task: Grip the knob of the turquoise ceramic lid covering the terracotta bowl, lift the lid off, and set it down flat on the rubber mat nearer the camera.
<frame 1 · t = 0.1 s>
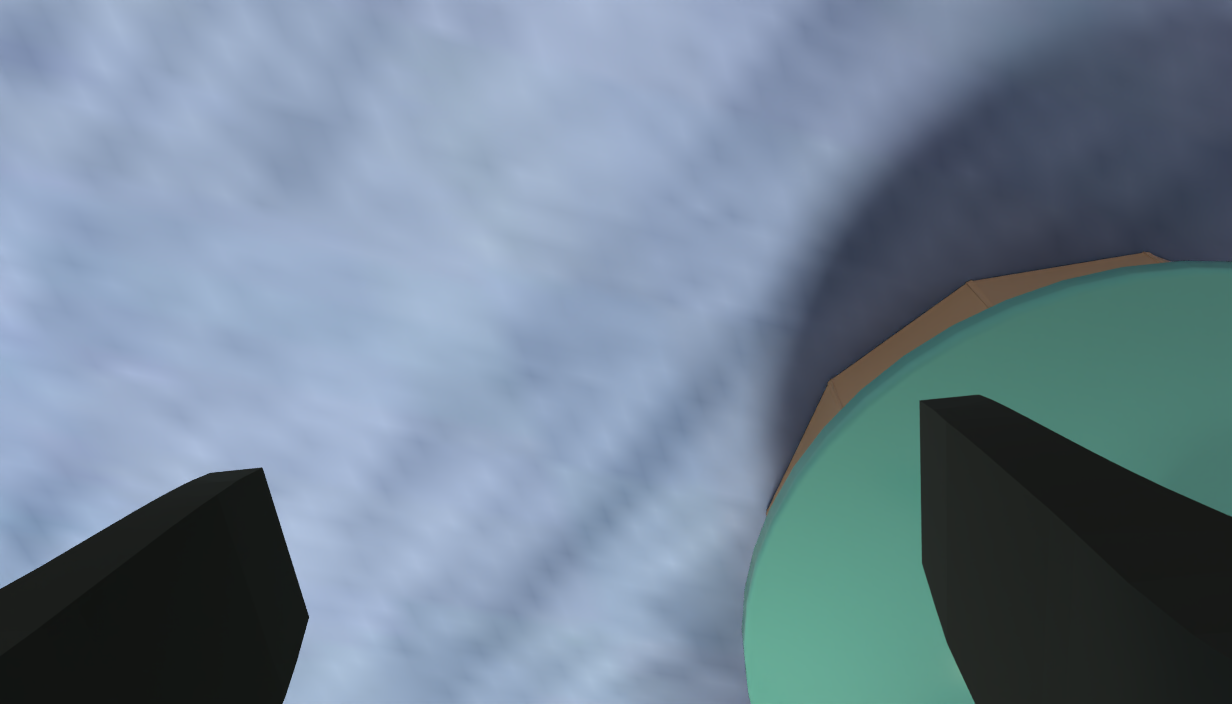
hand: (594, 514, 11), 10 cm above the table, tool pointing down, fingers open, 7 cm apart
lid: (1119, 619, 19), point 3 cm above the table, touching bowl
bowl: (1061, 534, 22), on the table
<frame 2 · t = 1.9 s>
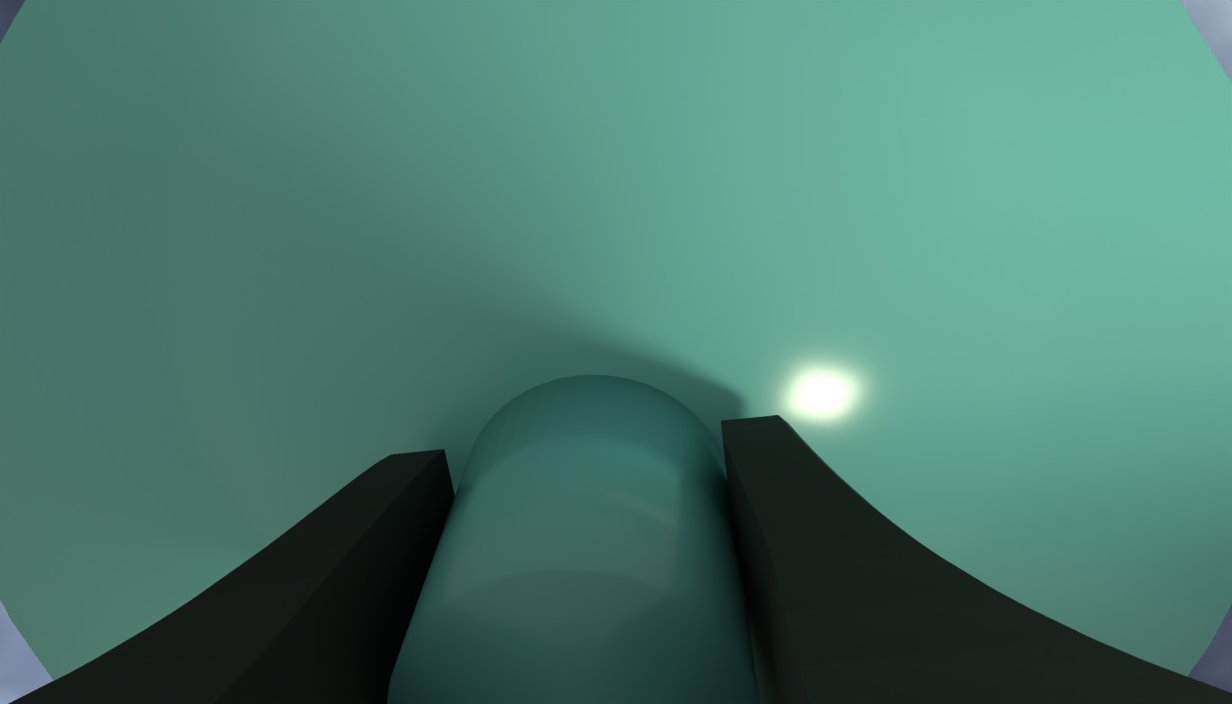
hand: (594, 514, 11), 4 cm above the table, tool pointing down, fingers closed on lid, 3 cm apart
lid: (600, 460, 12), point 3 cm above the table, touching bowl, gripper
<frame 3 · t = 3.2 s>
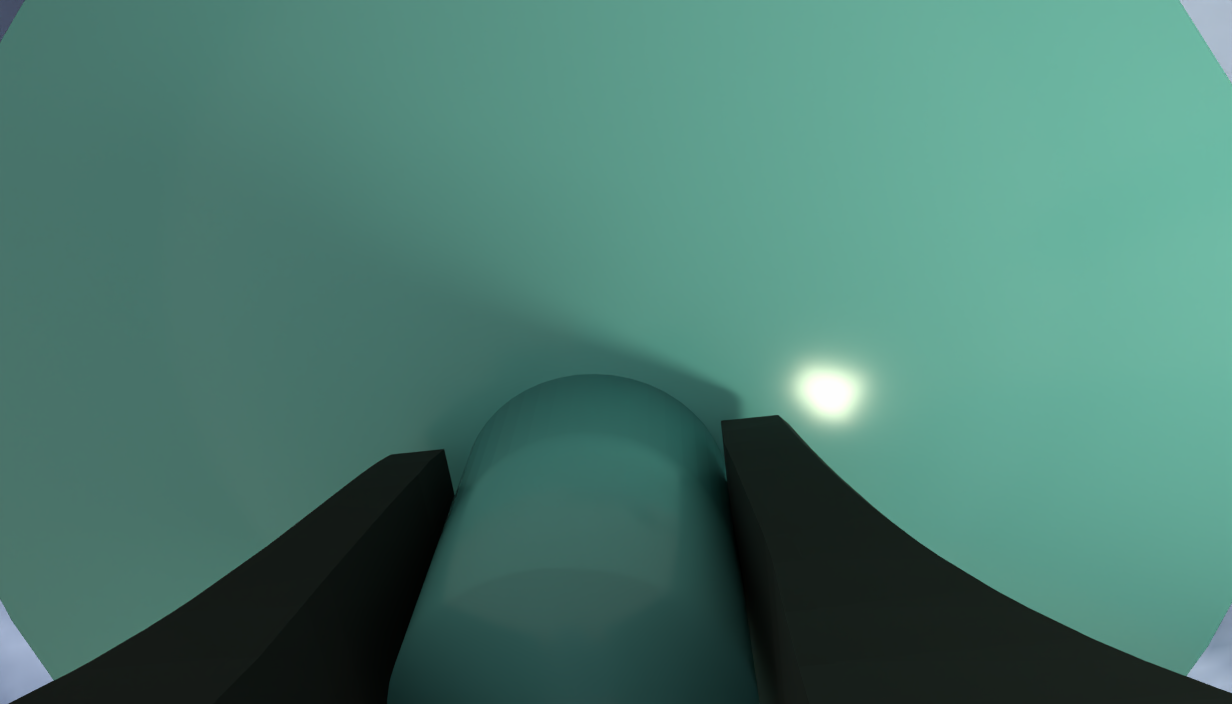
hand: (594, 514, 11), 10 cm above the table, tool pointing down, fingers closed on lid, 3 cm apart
lid: (599, 459, 12), point 9 cm above the table, touching gripper
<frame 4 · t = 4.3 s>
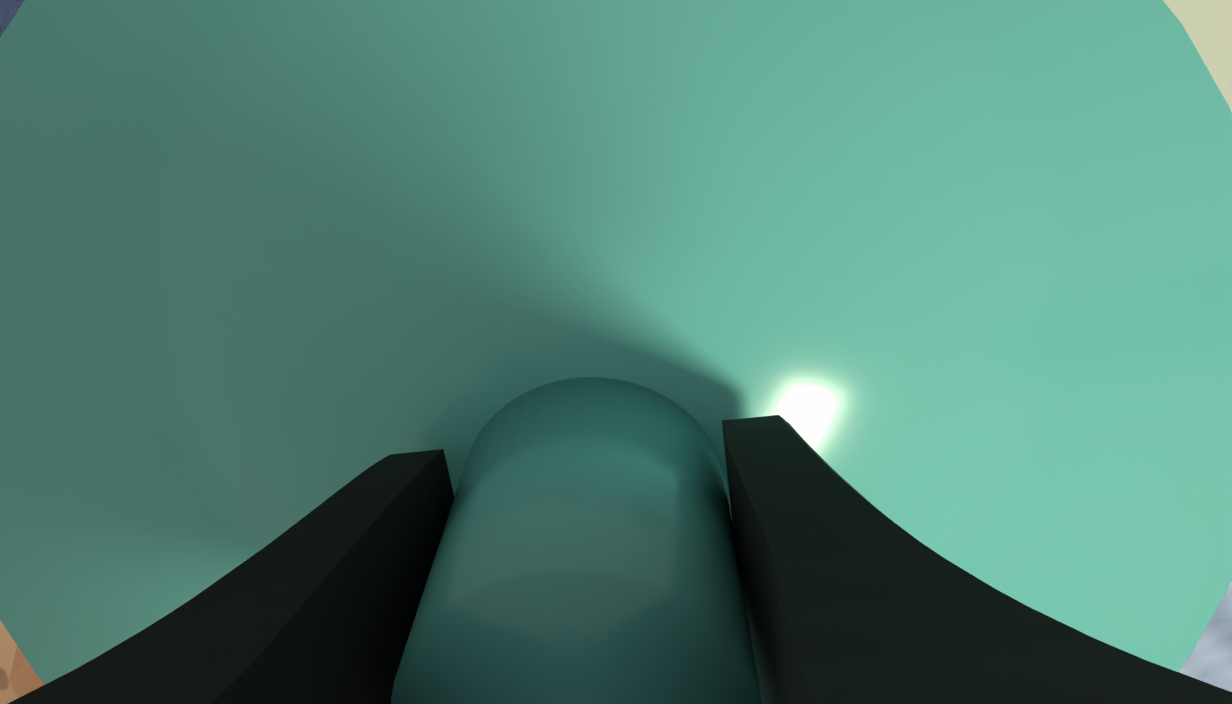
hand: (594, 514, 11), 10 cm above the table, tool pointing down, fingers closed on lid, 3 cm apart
lid: (596, 462, 12), point 9 cm above the table, touching gripper
bowl: (309, 627, 24), on the table
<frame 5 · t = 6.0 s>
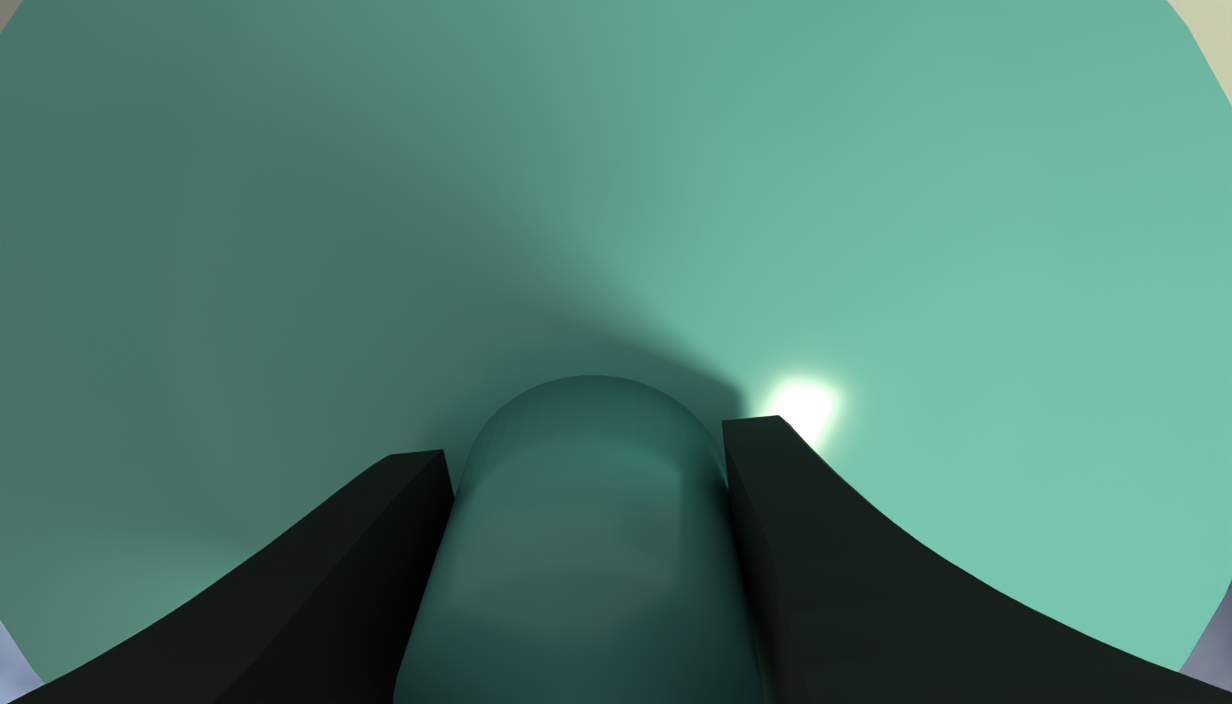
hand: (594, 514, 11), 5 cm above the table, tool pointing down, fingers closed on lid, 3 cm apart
lid: (597, 460, 12), point 3 cm above the table, touching gripper
mat: (612, 354, 15), on the table
when the fingers open (3 cm above the table, at t = 7.0 s): lid drops 1 cm, resting on mat.
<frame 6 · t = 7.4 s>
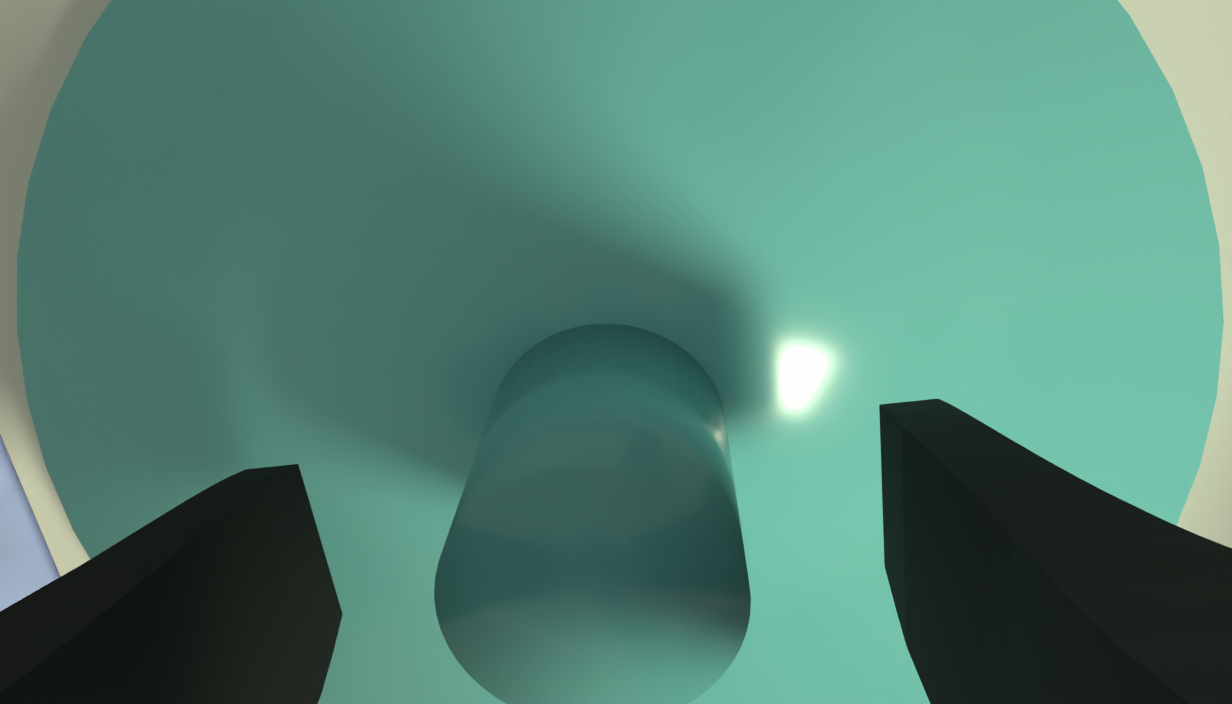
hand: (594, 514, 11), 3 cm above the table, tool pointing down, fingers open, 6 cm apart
lid: (610, 405, 13), resting on mat
mat: (607, 389, 14), on the table
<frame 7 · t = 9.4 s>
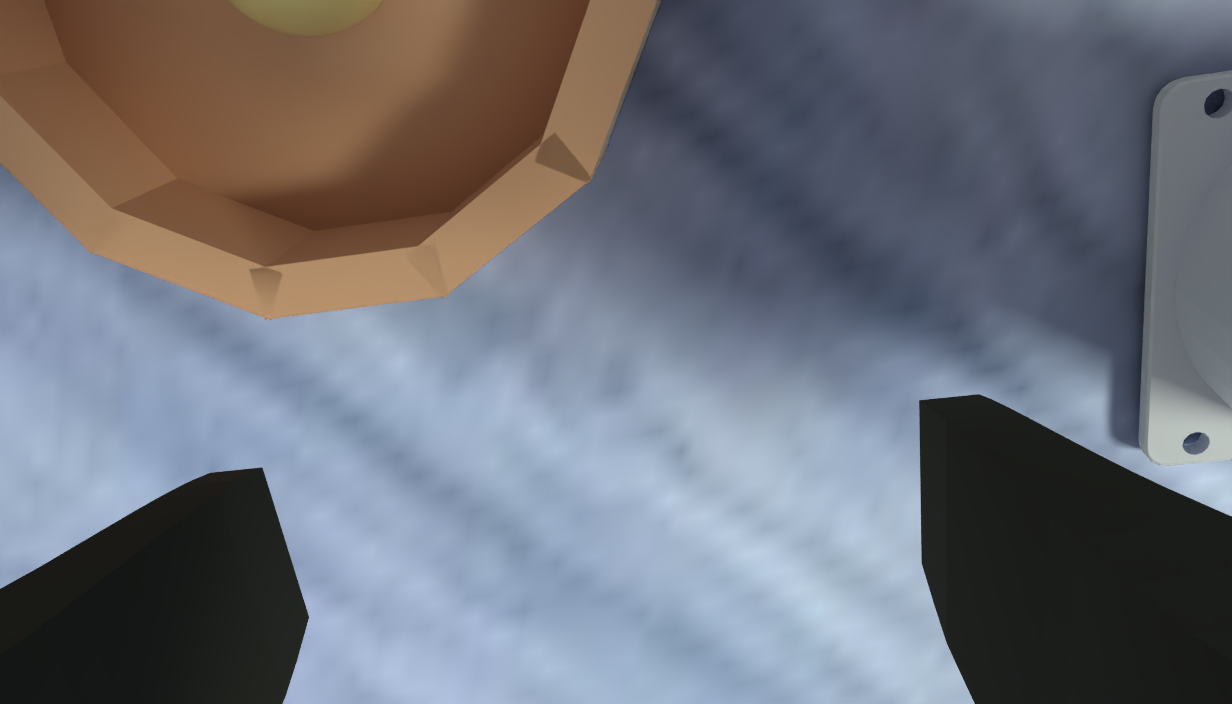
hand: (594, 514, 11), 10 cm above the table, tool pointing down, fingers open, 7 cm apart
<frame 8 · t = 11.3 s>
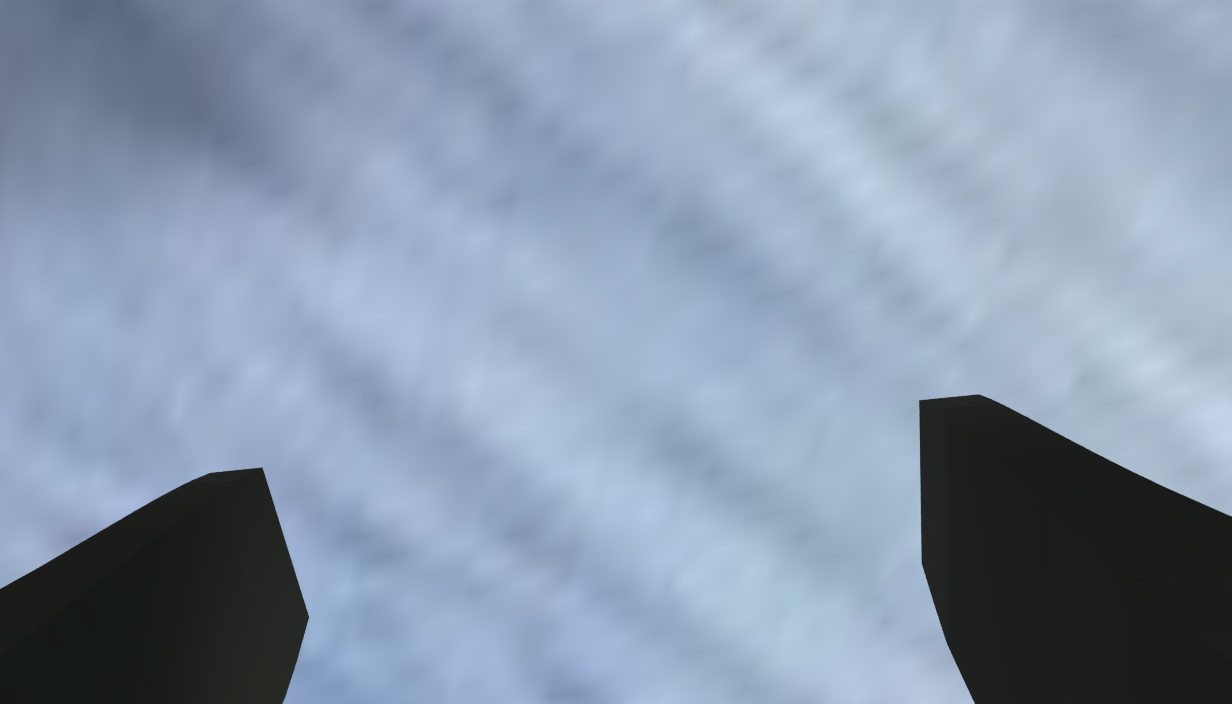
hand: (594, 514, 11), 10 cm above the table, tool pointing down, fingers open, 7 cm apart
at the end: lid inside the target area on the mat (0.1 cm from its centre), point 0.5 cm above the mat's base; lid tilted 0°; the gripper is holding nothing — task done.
